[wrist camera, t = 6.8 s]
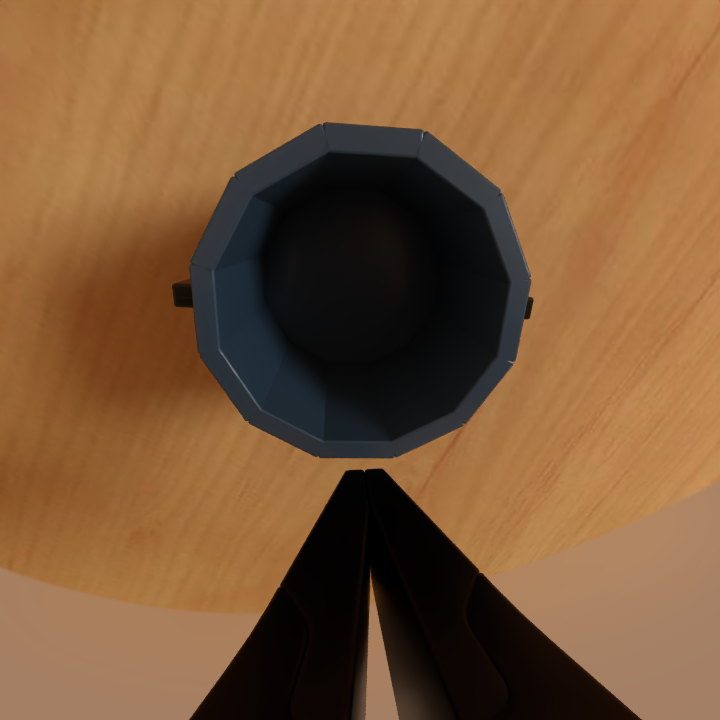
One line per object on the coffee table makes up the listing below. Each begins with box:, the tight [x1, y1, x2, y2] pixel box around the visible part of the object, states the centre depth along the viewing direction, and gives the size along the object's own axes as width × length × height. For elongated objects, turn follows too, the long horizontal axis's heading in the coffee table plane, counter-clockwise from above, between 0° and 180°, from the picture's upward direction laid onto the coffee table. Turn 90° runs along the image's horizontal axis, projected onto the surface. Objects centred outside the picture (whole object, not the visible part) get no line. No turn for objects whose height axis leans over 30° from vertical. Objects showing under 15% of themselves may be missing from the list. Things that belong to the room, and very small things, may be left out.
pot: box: [172, 122, 533, 458], centre depth 11 cm, size 7×9×7 cm
